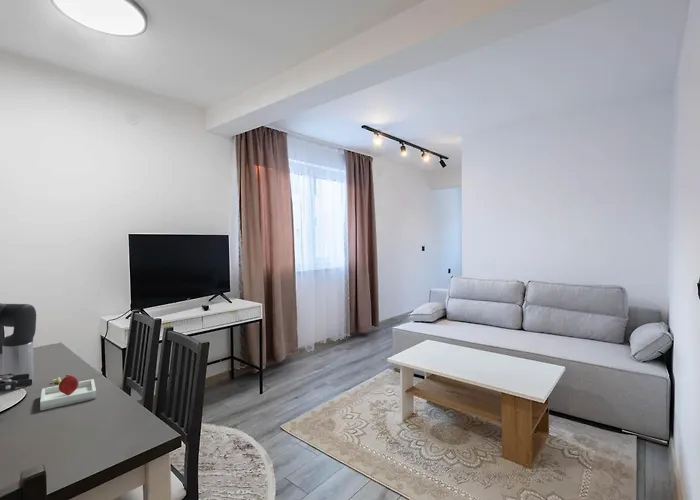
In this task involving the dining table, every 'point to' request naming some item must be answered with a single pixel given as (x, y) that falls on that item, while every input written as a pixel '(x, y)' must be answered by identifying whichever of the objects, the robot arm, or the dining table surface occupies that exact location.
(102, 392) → the dining table surface
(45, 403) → the tray
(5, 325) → the robot arm
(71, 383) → the onion
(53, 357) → the dining table surface
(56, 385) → the key
